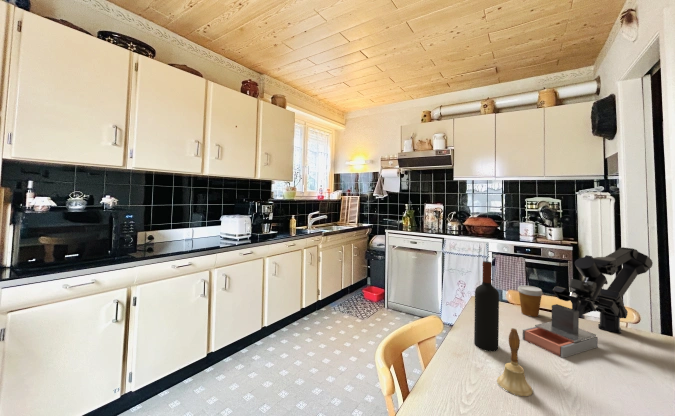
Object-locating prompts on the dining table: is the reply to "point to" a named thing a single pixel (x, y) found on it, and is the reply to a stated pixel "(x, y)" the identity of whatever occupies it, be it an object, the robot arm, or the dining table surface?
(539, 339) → the grey box tray
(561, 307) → the lid
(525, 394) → the hand bell
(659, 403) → the dining table surface
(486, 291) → the wine bottle
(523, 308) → the disposable coffee cup
